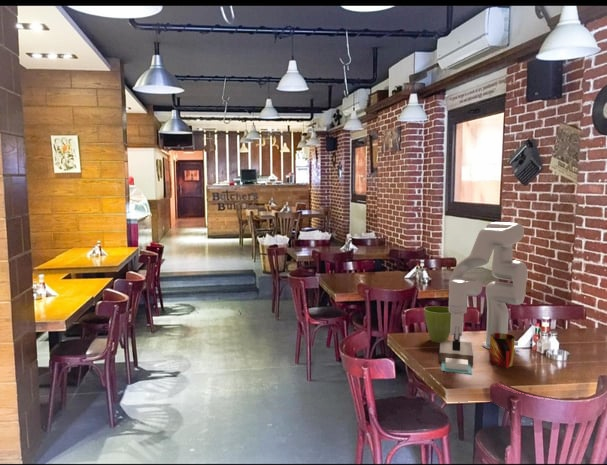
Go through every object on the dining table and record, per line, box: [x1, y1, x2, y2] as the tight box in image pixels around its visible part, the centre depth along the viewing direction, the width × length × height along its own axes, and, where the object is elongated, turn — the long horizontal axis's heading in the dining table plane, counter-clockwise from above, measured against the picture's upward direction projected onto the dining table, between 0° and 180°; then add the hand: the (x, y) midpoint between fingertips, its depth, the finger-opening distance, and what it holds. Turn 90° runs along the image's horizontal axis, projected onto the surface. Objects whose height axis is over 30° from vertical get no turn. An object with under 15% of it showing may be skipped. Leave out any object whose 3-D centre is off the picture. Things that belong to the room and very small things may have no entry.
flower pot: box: [423, 305, 451, 344], centre depth 248 cm, size 15×15×16 cm
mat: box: [440, 361, 473, 375], centre depth 210 cm, size 12×12×1 cm
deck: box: [438, 339, 474, 366], centre depth 225 cm, size 14×20×4 cm
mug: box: [489, 333, 515, 369], centre depth 214 cm, size 10×14×12 cm
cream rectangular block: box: [445, 358, 468, 370], centre depth 210 cm, size 9×6×2 cm, turn 74°
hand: (456, 350), depth 216 cm, fingers closed
